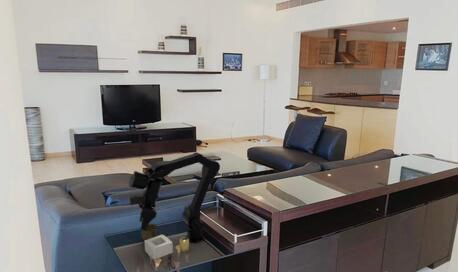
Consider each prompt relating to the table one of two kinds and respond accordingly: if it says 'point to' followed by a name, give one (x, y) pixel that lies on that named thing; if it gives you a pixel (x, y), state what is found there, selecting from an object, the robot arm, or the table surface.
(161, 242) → the jig
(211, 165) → the robot arm
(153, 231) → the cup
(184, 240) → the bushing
